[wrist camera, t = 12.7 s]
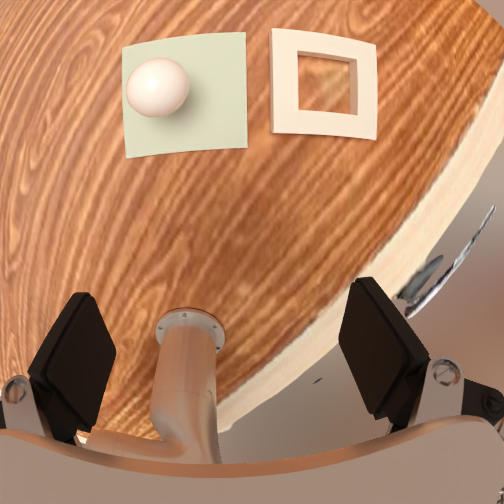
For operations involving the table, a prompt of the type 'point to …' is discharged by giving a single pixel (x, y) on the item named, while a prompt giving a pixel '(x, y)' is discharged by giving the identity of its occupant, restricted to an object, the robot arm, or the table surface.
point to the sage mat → (192, 96)
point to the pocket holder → (286, 84)
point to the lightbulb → (157, 87)
